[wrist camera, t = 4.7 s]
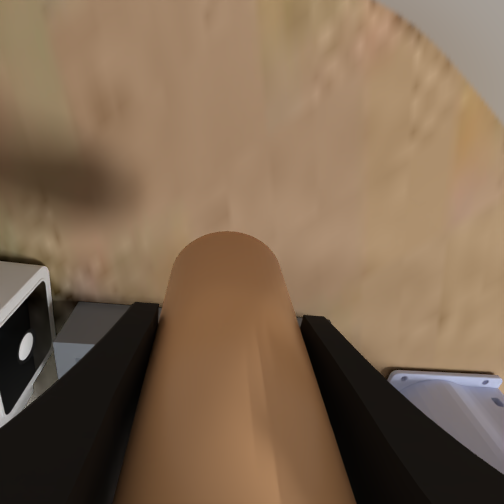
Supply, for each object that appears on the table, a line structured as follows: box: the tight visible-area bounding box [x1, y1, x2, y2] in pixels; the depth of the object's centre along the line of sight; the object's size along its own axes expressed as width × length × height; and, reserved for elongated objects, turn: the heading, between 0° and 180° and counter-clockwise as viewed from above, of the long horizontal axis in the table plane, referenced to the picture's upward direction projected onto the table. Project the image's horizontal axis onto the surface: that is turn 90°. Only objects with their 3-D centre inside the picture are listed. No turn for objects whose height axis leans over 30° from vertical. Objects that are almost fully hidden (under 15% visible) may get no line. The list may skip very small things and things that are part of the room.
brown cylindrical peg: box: [112, 231, 357, 504], centre depth 8 cm, size 4×4×9 cm
